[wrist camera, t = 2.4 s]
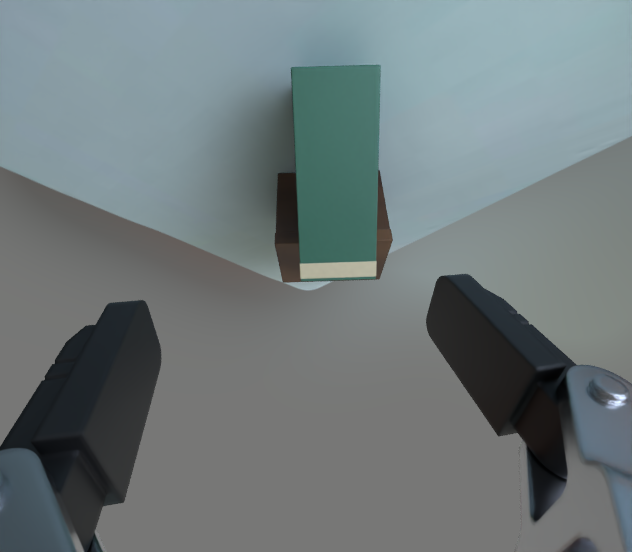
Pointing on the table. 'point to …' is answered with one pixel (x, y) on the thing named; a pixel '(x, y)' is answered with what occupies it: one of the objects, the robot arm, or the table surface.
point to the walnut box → (290, 238)
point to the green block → (336, 170)
